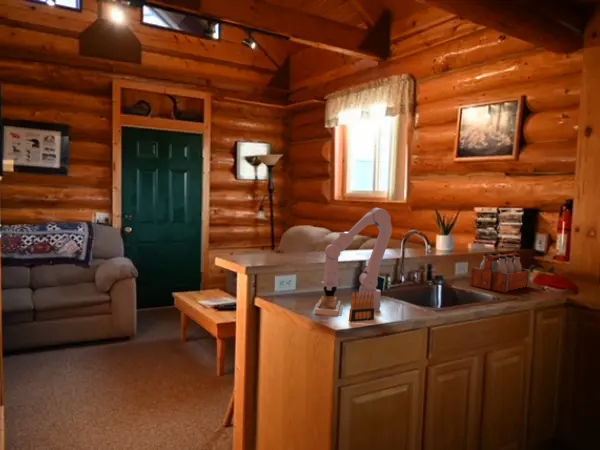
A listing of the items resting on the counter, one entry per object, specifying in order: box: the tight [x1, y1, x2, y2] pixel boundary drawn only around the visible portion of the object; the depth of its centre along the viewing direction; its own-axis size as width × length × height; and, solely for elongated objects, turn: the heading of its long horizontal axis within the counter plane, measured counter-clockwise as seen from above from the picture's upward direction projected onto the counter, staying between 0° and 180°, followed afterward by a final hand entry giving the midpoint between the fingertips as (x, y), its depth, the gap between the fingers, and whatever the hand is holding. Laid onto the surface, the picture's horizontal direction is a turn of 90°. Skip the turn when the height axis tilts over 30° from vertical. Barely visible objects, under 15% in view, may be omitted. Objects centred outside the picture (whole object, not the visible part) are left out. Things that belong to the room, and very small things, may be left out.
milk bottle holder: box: [469, 251, 531, 293], centre depth 276 cm, size 21×35×19 cm, turn 130°
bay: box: [311, 298, 344, 317], centre depth 202 cm, size 12×18×2 cm, turn 172°
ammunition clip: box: [348, 290, 375, 323], centre depth 188 cm, size 11×2×12 cm, turn 116°
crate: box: [320, 295, 337, 310], centre depth 202 cm, size 6×6×5 cm
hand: (329, 303), depth 206 cm, fingers closed
